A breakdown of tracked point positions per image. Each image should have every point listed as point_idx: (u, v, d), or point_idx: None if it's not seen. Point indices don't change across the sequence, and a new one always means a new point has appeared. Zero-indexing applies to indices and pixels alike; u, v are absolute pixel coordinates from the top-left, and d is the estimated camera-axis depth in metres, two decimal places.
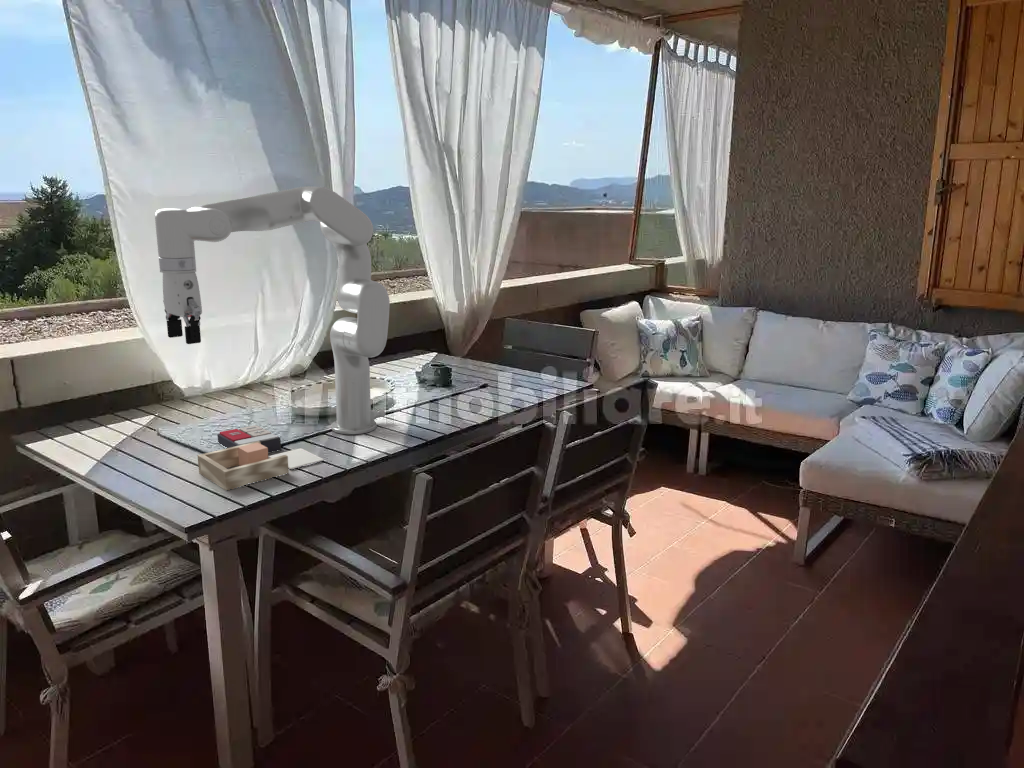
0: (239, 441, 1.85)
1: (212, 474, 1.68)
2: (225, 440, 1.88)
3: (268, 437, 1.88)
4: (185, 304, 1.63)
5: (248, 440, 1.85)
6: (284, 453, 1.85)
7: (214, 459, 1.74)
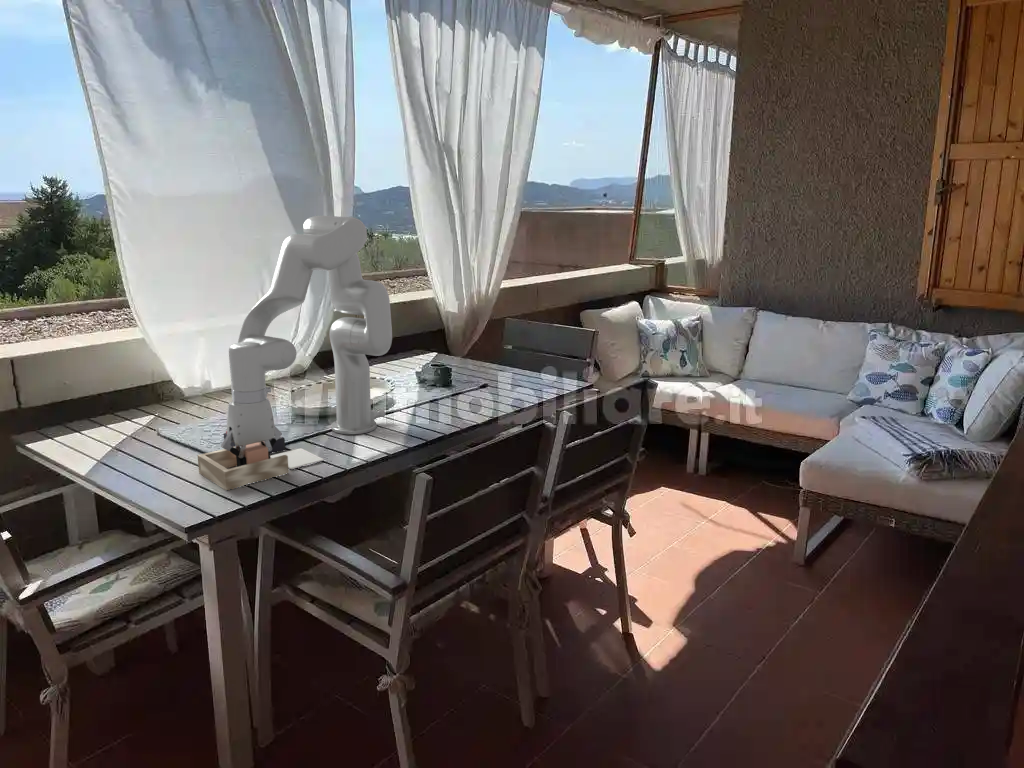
0: None
1: (212, 474, 1.68)
2: None
3: None
4: None
5: None
6: (284, 453, 1.85)
7: (214, 459, 1.74)
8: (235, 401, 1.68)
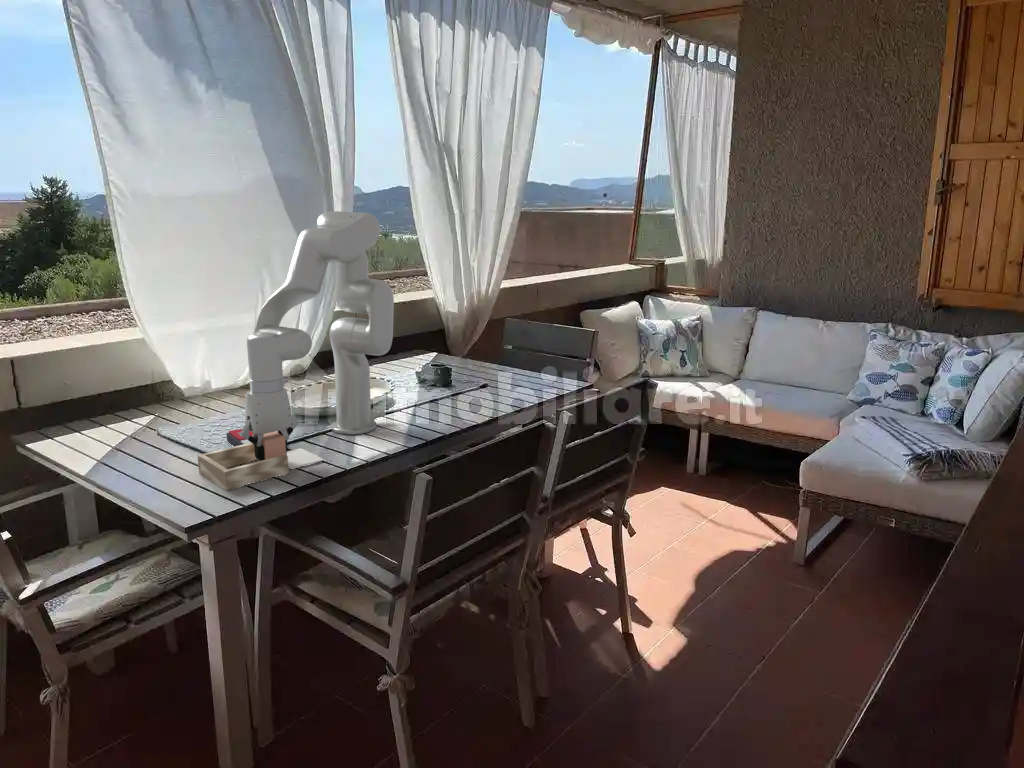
0: (245, 441, 1.85)
1: (212, 474, 1.68)
2: (232, 439, 1.89)
3: None
4: None
5: None
6: None
7: (214, 459, 1.74)
8: (253, 390, 1.70)
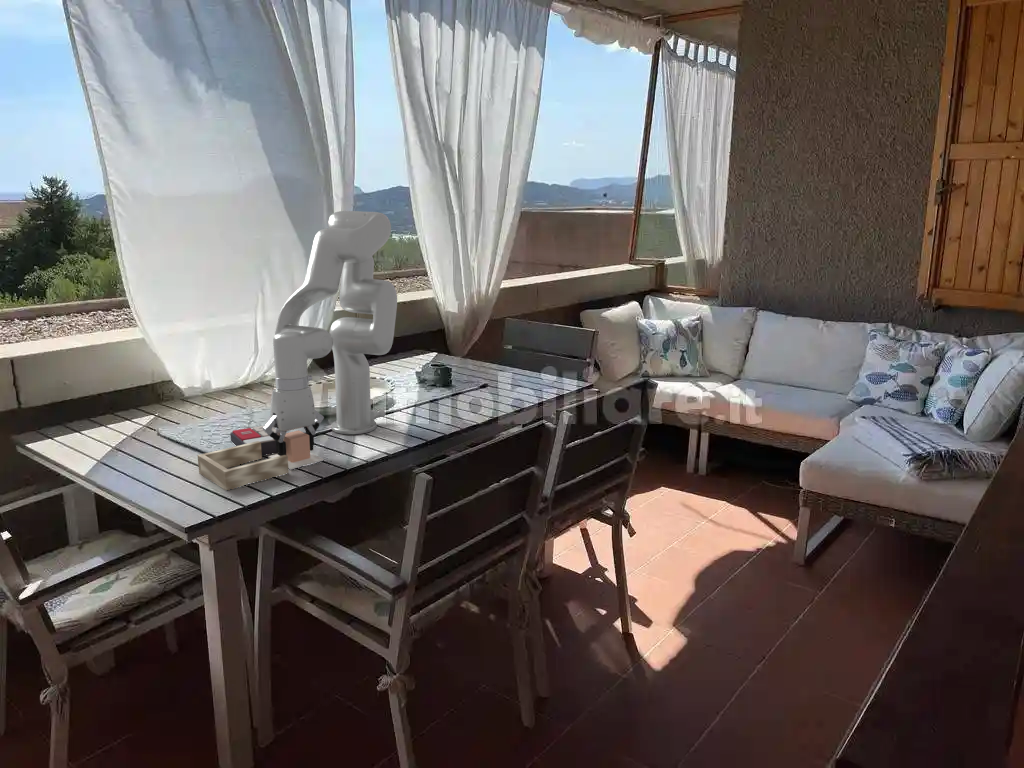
0: (247, 440, 1.85)
1: (212, 474, 1.68)
2: (236, 439, 1.90)
3: None
4: None
5: (256, 440, 1.86)
6: None
7: (214, 459, 1.74)
8: (279, 388, 1.75)
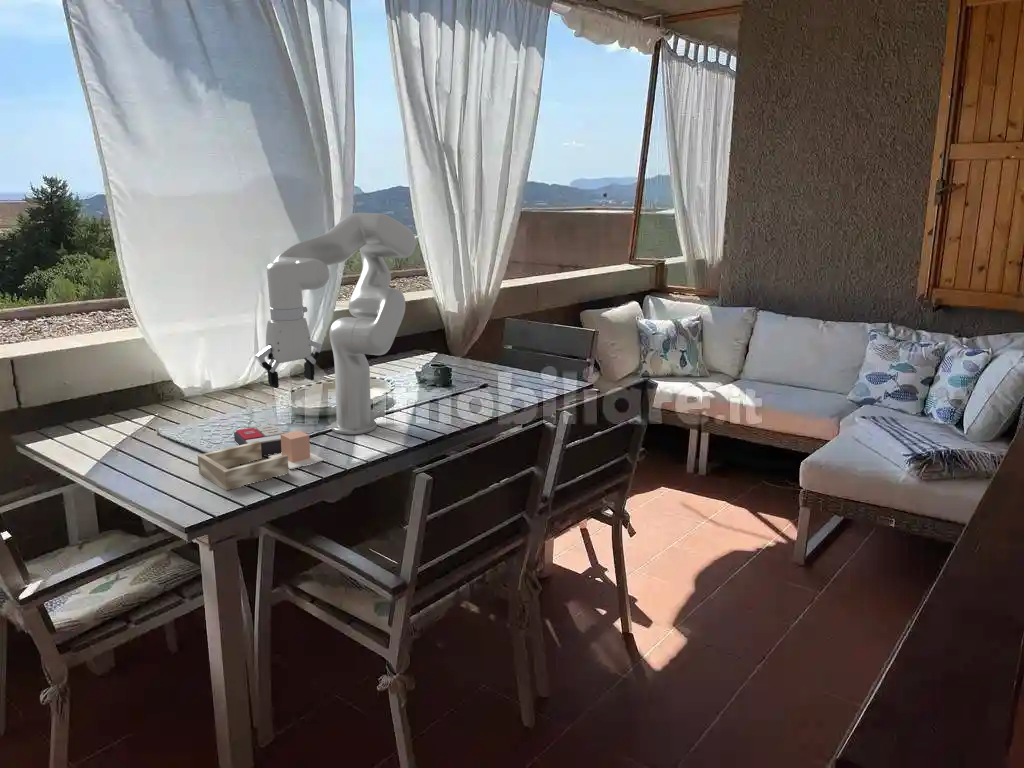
0: (250, 440, 1.85)
1: (212, 474, 1.68)
2: (239, 439, 1.90)
3: (279, 437, 1.88)
4: None
5: (259, 440, 1.86)
6: None
7: (214, 459, 1.74)
8: (274, 319, 1.72)
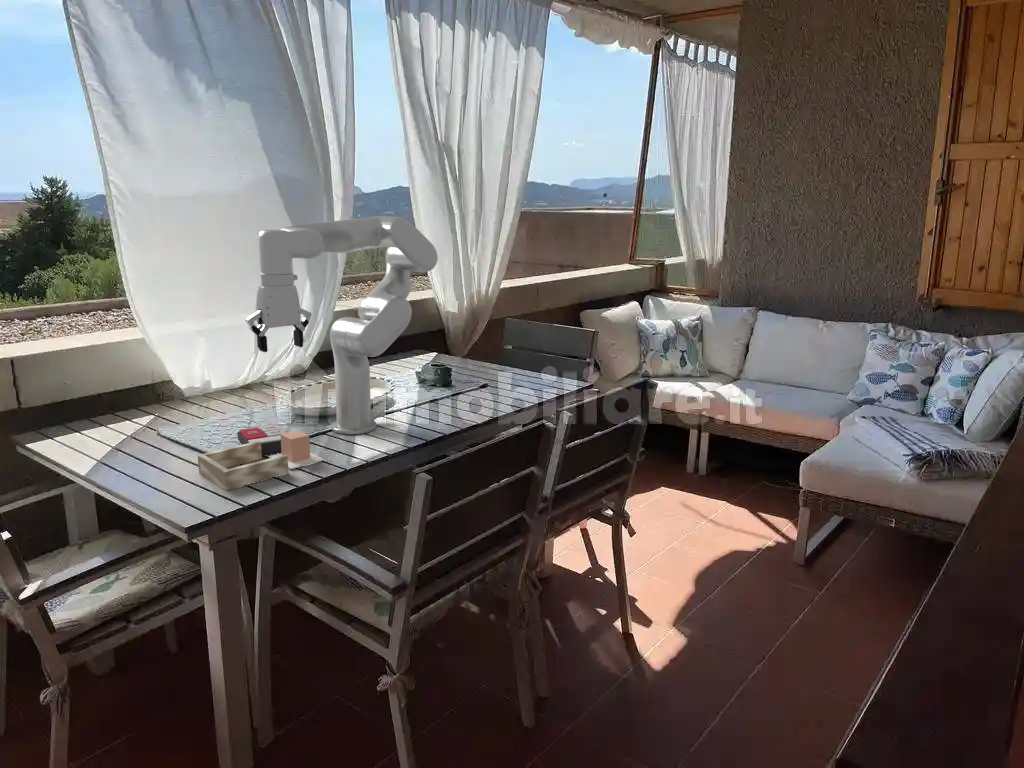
0: (252, 440, 1.85)
1: (212, 474, 1.68)
2: (242, 438, 1.90)
3: None
4: None
5: (261, 440, 1.86)
6: None
7: (214, 459, 1.74)
8: (264, 284, 1.78)
